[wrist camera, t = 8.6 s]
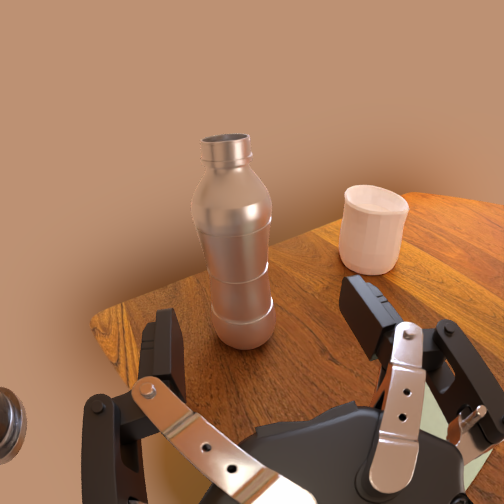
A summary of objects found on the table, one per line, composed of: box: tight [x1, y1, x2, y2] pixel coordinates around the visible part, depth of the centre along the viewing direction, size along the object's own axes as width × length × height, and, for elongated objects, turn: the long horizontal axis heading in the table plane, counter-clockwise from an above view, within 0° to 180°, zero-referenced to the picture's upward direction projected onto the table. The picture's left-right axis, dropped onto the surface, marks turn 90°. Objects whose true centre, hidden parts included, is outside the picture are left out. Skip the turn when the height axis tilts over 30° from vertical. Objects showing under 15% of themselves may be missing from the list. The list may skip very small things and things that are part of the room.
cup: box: [339, 185, 409, 275], centre depth 38 cm, size 10×10×10 cm
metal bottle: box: [191, 134, 276, 350], centre depth 24 cm, size 6×7×20 cm
